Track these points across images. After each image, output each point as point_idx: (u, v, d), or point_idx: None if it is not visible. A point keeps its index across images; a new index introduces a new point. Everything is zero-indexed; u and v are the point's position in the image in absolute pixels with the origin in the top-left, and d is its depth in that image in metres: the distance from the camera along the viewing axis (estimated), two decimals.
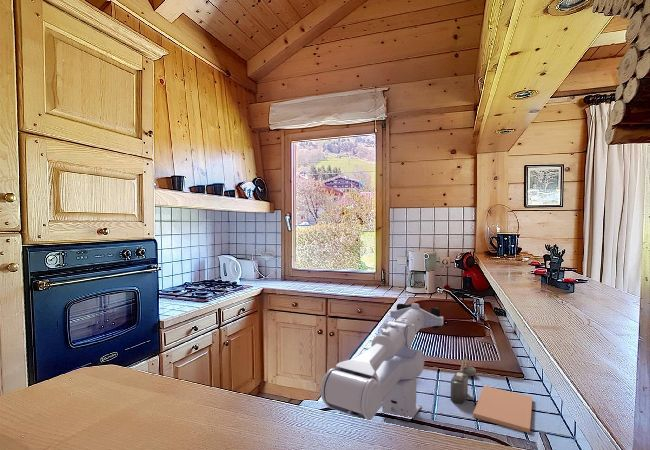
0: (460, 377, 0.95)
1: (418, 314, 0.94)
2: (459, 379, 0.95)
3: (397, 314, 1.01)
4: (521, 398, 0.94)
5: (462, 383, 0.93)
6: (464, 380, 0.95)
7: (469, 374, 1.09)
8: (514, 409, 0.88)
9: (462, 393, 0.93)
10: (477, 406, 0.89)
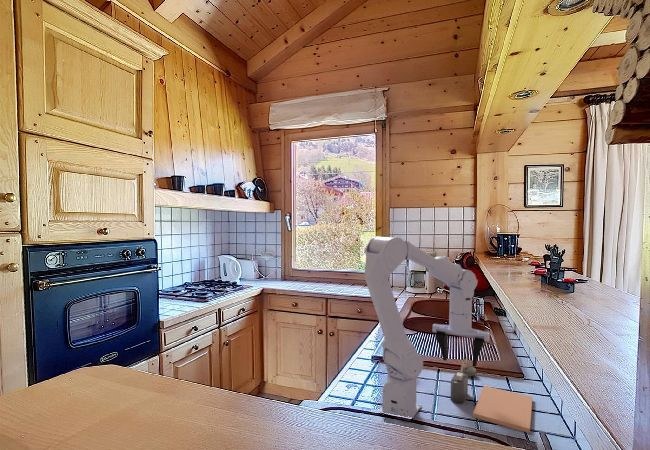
0: (460, 377, 0.95)
1: None
2: (459, 379, 0.95)
3: None
4: (521, 398, 0.94)
5: (462, 383, 0.93)
6: (464, 380, 0.95)
7: (469, 374, 1.09)
8: (514, 409, 0.88)
9: (462, 393, 0.93)
10: (477, 406, 0.89)
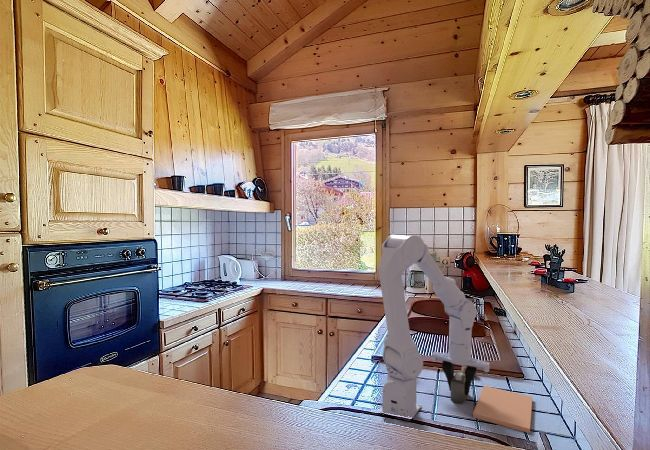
0: (460, 377, 0.95)
1: None
2: (459, 379, 0.95)
3: None
4: (521, 398, 0.94)
5: (462, 383, 0.93)
6: (464, 380, 0.95)
7: None
8: (514, 409, 0.88)
9: (462, 393, 0.93)
10: (477, 406, 0.89)
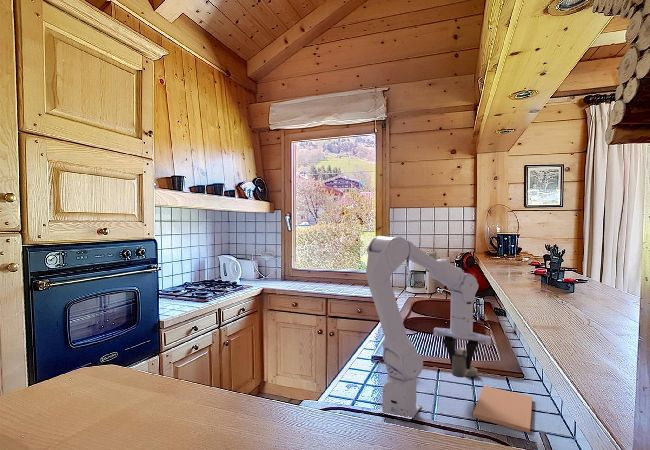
0: (461, 351, 0.95)
1: None
2: (460, 353, 0.95)
3: None
4: (521, 398, 0.94)
5: (464, 357, 0.93)
6: (465, 354, 0.95)
7: (471, 374, 1.09)
8: (514, 409, 0.88)
9: (464, 367, 0.93)
10: (477, 406, 0.89)
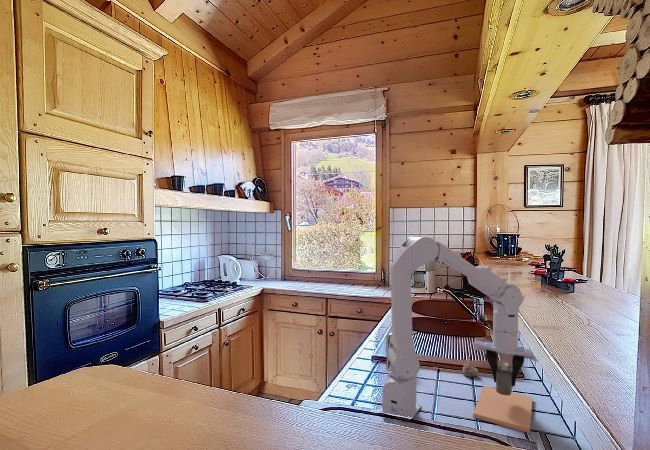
0: (506, 367, 0.89)
1: None
2: (505, 369, 0.89)
3: None
4: (521, 398, 0.94)
5: (509, 373, 0.88)
6: (510, 370, 0.89)
7: (471, 374, 1.09)
8: (514, 409, 0.88)
9: (509, 384, 0.87)
10: (477, 406, 0.89)
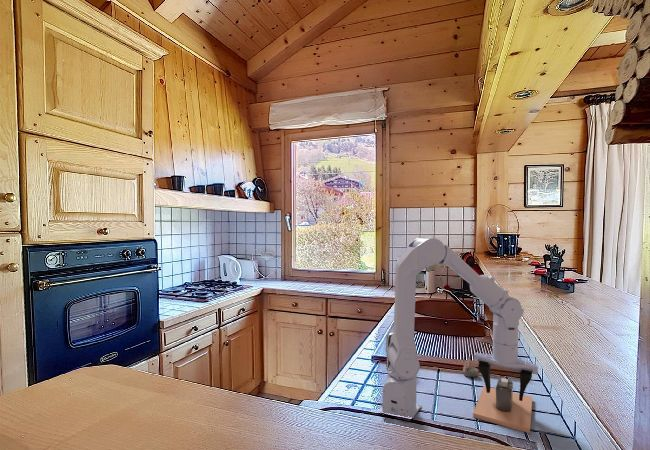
0: (506, 383, 0.89)
1: None
2: (505, 385, 0.89)
3: None
4: None
5: (509, 390, 0.88)
6: (510, 386, 0.89)
7: (472, 375, 1.09)
8: (514, 409, 0.88)
9: (509, 401, 0.87)
10: (477, 406, 0.89)
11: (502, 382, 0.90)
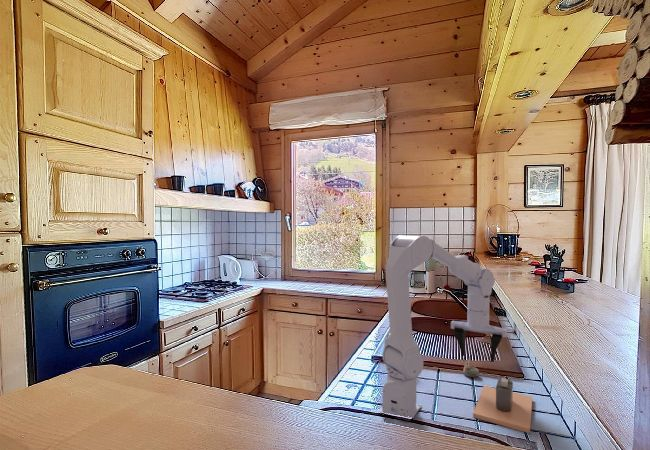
0: (506, 383, 0.89)
1: None
2: (505, 385, 0.89)
3: None
4: (521, 398, 0.94)
5: (509, 390, 0.88)
6: (510, 386, 0.89)
7: (472, 375, 1.09)
8: (514, 409, 0.88)
9: (509, 401, 0.87)
10: (477, 406, 0.89)
11: (502, 382, 0.90)
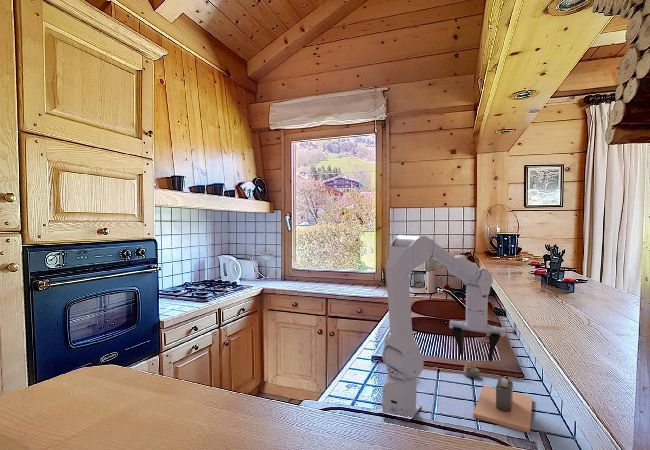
0: (506, 383, 0.89)
1: None
2: (505, 385, 0.89)
3: None
4: (521, 398, 0.94)
5: (509, 390, 0.88)
6: (510, 386, 0.89)
7: (472, 375, 1.09)
8: (514, 409, 0.88)
9: (509, 401, 0.87)
10: (477, 406, 0.89)
11: (502, 382, 0.90)
